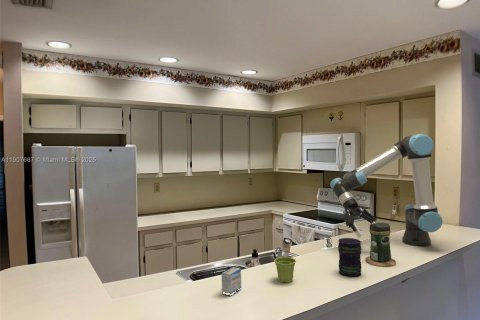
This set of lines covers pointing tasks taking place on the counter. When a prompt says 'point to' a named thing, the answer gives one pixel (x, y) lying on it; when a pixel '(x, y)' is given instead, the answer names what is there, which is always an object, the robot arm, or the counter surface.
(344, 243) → the storage jar
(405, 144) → the robot arm
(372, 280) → the counter surface
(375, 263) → the plate
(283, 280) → the plant pot
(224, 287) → the medicine box
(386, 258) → the coffee jar
